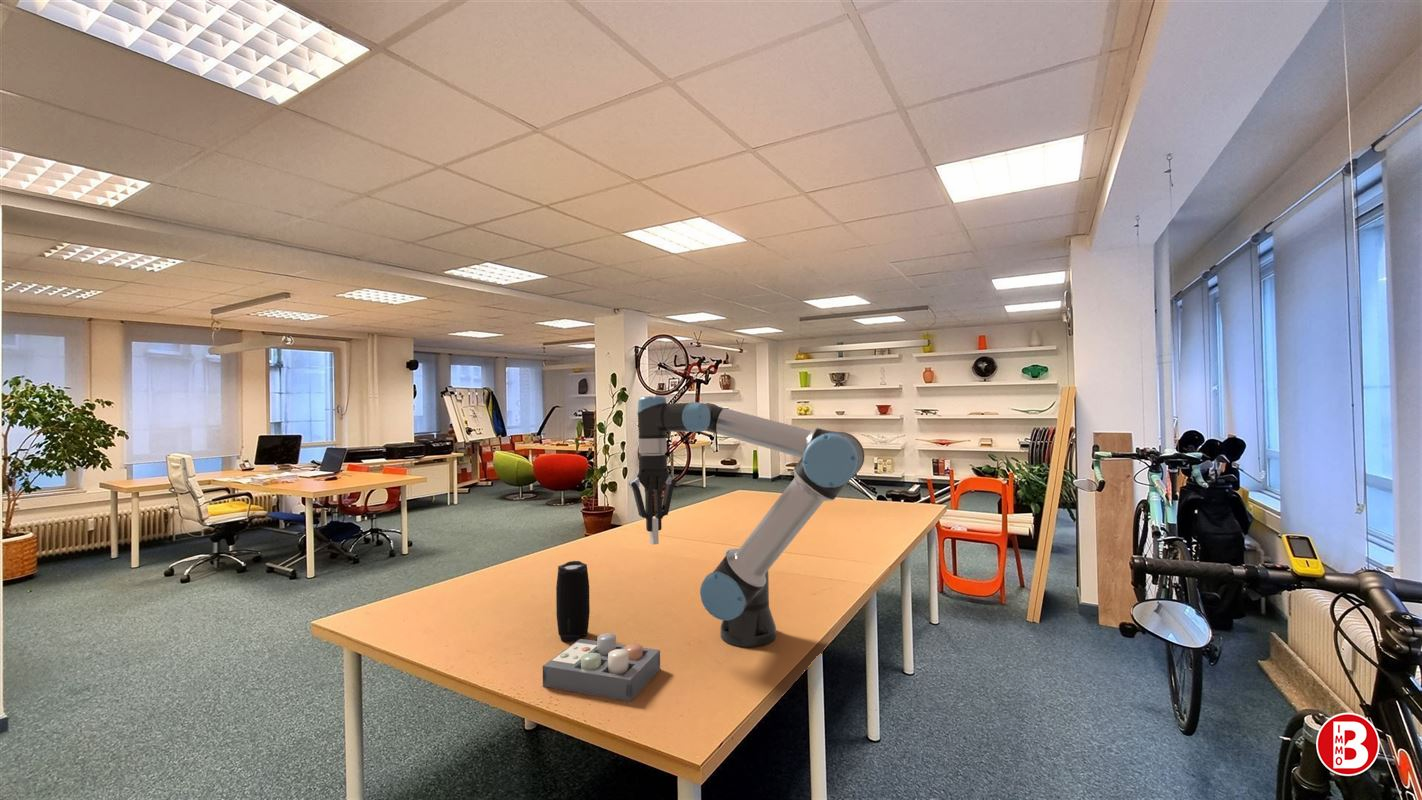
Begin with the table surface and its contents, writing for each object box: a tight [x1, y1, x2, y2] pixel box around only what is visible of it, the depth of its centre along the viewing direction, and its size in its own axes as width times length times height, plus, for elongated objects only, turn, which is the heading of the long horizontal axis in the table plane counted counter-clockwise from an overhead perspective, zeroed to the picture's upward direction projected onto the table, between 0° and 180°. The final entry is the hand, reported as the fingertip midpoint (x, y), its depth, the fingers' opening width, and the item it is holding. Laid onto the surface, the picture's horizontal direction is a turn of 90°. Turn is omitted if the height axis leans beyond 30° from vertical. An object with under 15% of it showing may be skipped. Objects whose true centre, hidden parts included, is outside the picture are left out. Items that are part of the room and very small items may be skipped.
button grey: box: [596, 632, 617, 657], centre depth 126 cm, size 4×4×4 cm
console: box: [542, 638, 661, 703], centre depth 123 cm, size 22×15×5 cm
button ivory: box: [608, 649, 629, 675], centre depth 117 cm, size 4×4×4 cm
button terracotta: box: [624, 643, 644, 670], centre depth 124 cm, size 4×4×4 cm
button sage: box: [581, 653, 601, 671], centre depth 120 cm, size 4×4×4 cm
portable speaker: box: [555, 560, 591, 643], centre depth 146 cm, size 9×9×20 cm
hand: (654, 543), depth 141 cm, fingers closed
